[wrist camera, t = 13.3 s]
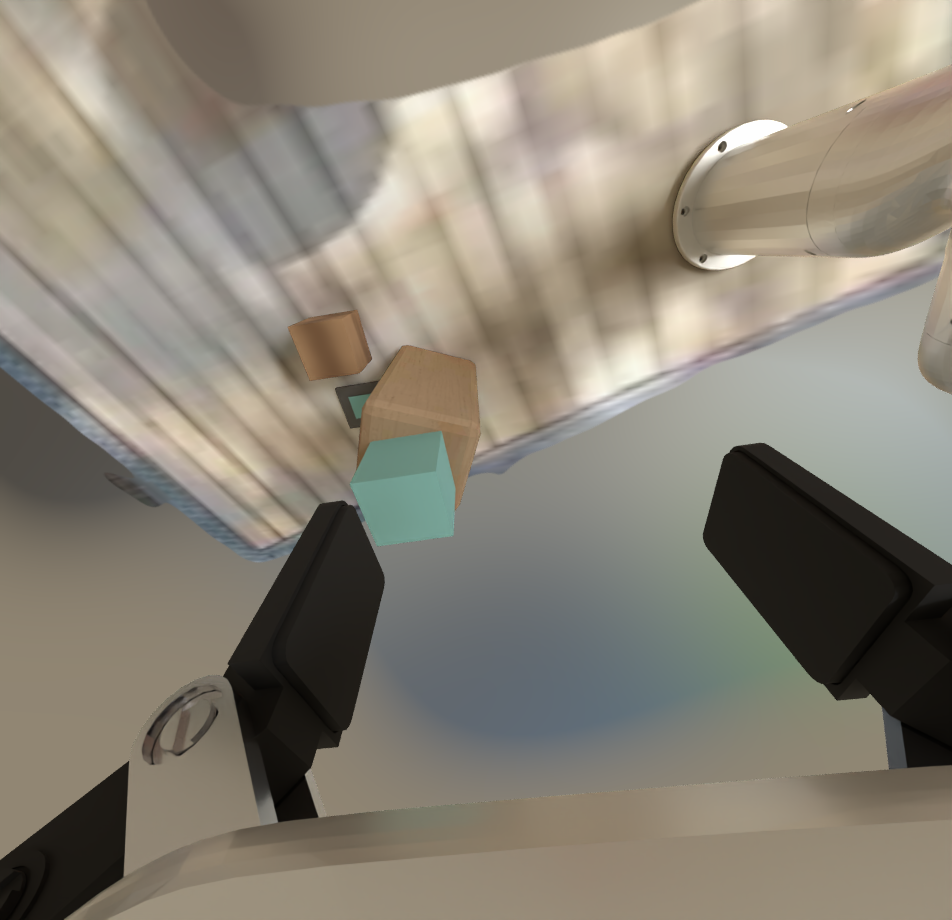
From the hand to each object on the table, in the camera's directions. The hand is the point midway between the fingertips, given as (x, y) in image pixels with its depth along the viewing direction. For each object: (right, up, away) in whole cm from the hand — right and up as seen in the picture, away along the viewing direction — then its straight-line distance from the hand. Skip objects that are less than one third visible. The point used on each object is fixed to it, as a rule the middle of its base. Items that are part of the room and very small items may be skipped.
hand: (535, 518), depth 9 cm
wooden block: (-7, +12, +38) cm, 40 cm away
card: (-17, +9, +39) cm, 43 cm away
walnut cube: (-18, +17, +34) cm, 42 cm away
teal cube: (-7, +1, +21) cm, 22 cm away
